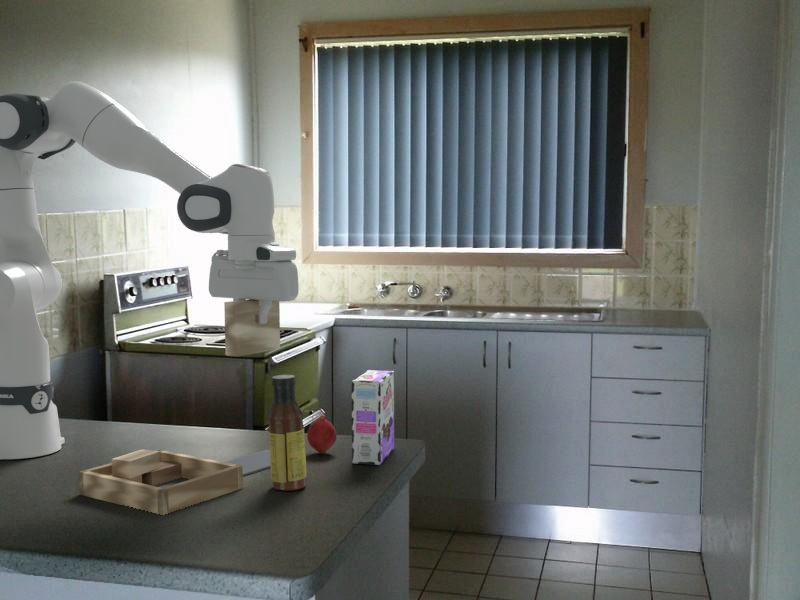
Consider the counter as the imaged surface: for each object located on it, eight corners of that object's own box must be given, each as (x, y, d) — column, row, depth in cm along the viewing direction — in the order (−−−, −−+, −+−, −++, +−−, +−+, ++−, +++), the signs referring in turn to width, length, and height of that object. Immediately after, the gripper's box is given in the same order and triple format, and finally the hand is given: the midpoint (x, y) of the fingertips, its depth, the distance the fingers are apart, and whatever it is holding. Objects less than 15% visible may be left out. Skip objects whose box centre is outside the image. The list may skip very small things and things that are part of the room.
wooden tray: (79, 494, 166) (78, 471, 165) (161, 470, 181) (160, 449, 180) (163, 515, 154) (162, 491, 154) (242, 488, 169) (242, 465, 169)
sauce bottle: (308, 482, 173) (306, 373, 171) (304, 492, 166) (303, 379, 165) (271, 482, 173) (270, 373, 171) (267, 492, 166) (265, 379, 165)
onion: (309, 457, 190) (308, 418, 189) (306, 450, 196) (305, 412, 195) (338, 456, 191) (337, 416, 190) (334, 449, 197) (334, 410, 196)
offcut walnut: (136, 485, 173) (136, 468, 172) (166, 476, 178) (166, 460, 178) (152, 488, 170) (151, 472, 170) (181, 479, 176) (181, 463, 176)
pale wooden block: (225, 355, 180) (224, 302, 179) (268, 347, 190) (267, 297, 189) (237, 356, 178) (236, 302, 177) (280, 348, 188) (279, 298, 187)
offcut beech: (111, 475, 167) (111, 458, 167) (142, 465, 175) (141, 449, 174) (130, 478, 166) (129, 461, 165) (159, 467, 173) (159, 451, 173)
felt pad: (207, 469, 181) (207, 467, 181) (267, 451, 195) (267, 449, 195) (242, 476, 176) (242, 474, 176) (301, 457, 190) (301, 455, 190)
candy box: (380, 466, 184) (380, 381, 182) (350, 464, 185) (350, 380, 183) (395, 448, 197) (395, 369, 196) (367, 447, 198) (367, 368, 197)
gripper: (200, 250, 185) (202, 321, 187) (280, 252, 174) (281, 327, 175) (223, 249, 191) (225, 318, 192) (303, 250, 179) (304, 324, 180)
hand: (252, 322), depth 183 cm, fingers closed on pale wooden block, 3 cm apart
